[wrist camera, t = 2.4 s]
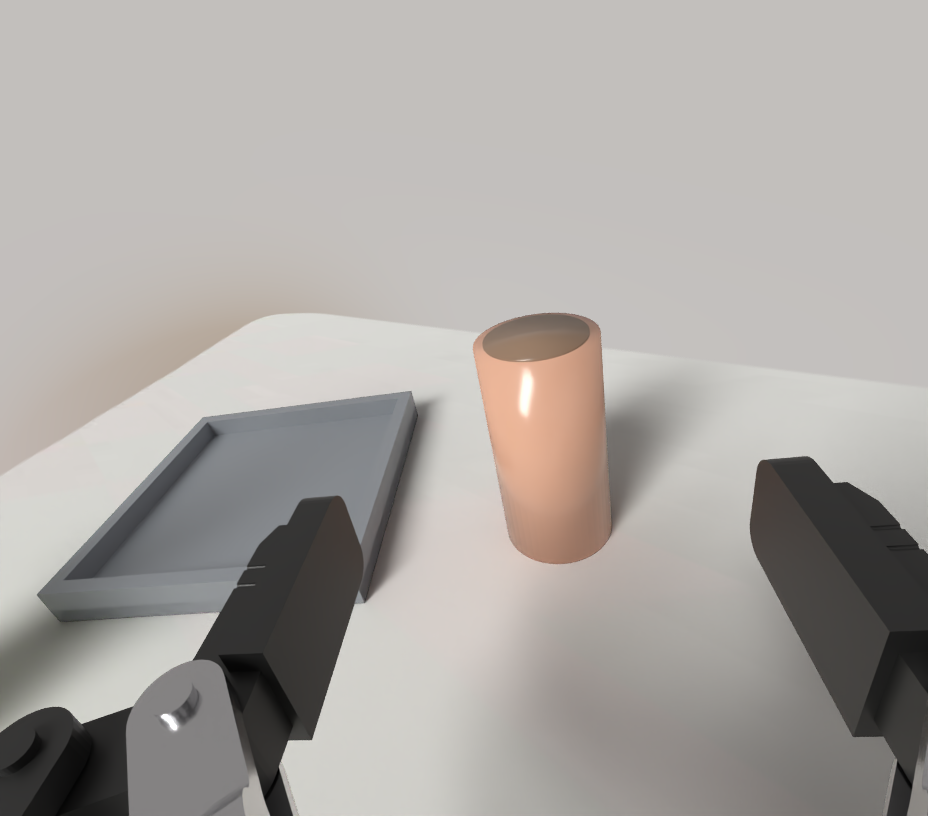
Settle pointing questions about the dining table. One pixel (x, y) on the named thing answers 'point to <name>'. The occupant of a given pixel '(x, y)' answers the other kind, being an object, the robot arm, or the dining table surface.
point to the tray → (236, 505)
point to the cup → (548, 432)
